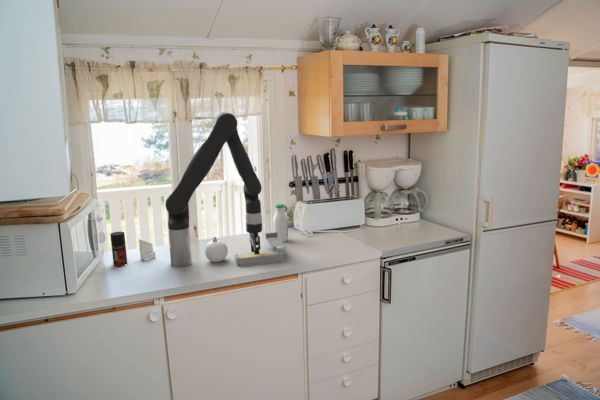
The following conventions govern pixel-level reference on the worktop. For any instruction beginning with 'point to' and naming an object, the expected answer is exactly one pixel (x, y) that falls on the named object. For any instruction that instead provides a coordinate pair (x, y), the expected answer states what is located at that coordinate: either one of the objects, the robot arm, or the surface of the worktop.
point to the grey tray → (259, 258)
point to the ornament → (216, 250)
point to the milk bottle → (280, 223)
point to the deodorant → (118, 248)
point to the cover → (275, 241)
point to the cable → (257, 255)
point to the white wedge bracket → (146, 250)
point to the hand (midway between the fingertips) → (255, 254)
